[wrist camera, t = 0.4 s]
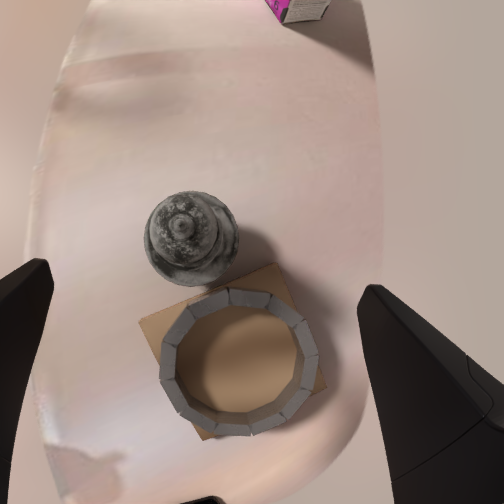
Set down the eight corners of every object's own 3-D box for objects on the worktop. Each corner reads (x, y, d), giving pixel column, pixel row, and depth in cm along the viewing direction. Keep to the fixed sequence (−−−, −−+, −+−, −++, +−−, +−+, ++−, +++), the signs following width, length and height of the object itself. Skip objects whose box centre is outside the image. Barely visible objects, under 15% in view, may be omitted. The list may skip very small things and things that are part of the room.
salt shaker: (243, 213, 23) (281, 169, 11) (221, 291, 23) (238, 327, 11) (166, 191, 22) (130, 128, 11) (143, 269, 22) (82, 281, 10)
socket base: (321, 382, 24) (336, 397, 21) (202, 433, 22) (202, 454, 19) (273, 262, 23) (284, 263, 20) (141, 318, 22) (132, 328, 19)
